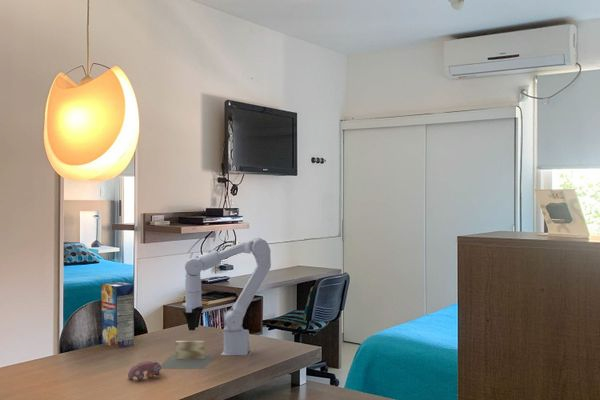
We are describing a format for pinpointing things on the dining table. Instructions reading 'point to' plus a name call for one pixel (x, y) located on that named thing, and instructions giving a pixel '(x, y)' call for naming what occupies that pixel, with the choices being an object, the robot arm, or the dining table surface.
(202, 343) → the slab
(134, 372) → the purple toy animal
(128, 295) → the juice carton
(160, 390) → the dining table surface
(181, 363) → the mat
